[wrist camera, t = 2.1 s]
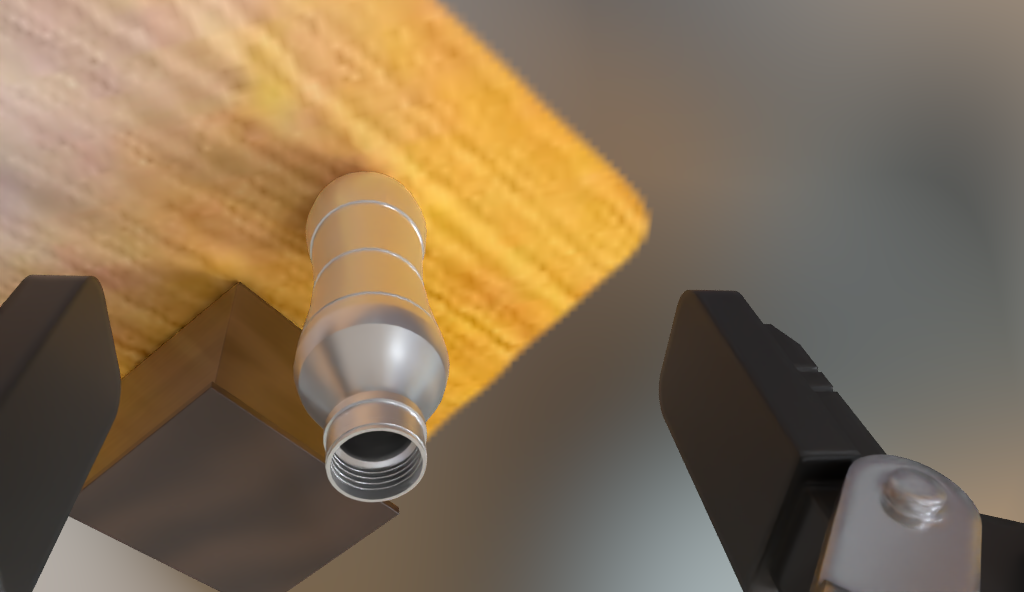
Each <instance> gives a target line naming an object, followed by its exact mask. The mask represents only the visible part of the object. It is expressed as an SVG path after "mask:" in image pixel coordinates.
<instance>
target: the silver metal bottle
mask: <svg viewBox="0 0 1024 592" xmlns="http://www.w3.org/2000/svg"><path fill="white" fill-rule="evenodd" d="M426 232H427V230H426V224H425V219H424V216H423V214H422V211H421V209H420V207H419V206H418V204H417V202H416V201H415V199H414V198H413V196H412V194H411V193H410V192H409V191H408V190H407V189H406V188H405V187H404V185H402V184H401V183H399V182H398V181H397V180H395V179H394V178H391V177H389V176H387V175H385V174H381V173H376V172H368V171H360V172H353V173H349V174H346V175H343V176H340V177H339V178H337V179H335V180H333V181H332V182H330V183H329V184H328V185H327V186H326V187H325V188H324V189H323V190H322V191H321V193H320V194H319V195H318V197H317V198H316V200H315V202H314V204H313V206H312V208H311V210H310V213H309V215H308V218H307V223H306V241H307V247H308V252H309V256H310V260H311V263H312V265H313V277H314V287H313V294H312V299H311V305H310V310H309V313H308V315H307V318H306V321H305V324H304V327H303V330H302V333H301V336H300V339H299V341H298V346H297V350H296V355H295V360H294V365H293V374H294V382H295V385H296V388H297V391H298V394H299V397H300V399H301V402H302V404H303V406H304V408H305V409H306V411H307V413H308V414H309V415H310V416H311V418H312V419H313V420H314V421H315V422H316V423H317V424H318V425H319V426H320V427H321V428H322V429H323V430H324V433H323V443H324V448H325V451H326V457H325V468H326V472H327V476H328V479H329V481H330V482H331V484H332V486H333V487H334V488H335V489H336V490H337V491H339V492H340V493H342V494H343V495H345V496H347V497H349V498H351V499H354V500H358V501H363V502H382V501H387V500H391V499H394V498H397V497H400V496H401V495H404V494H405V493H407V492H409V491H410V490H411V489H413V488H414V487H415V486H416V485H417V483H419V482H420V480H421V478H422V477H423V475H424V472H425V469H426V464H427V452H426V440H427V430H426V423H425V422H426V421H427V420H428V419H429V418H430V416H431V415H432V414H433V413H434V412H435V410H436V409H437V407H438V405H439V404H440V402H441V400H442V397H443V394H444V391H445V387H446V384H447V380H448V375H449V358H448V352H447V349H446V346H445V342H444V339H443V337H442V334H441V332H440V329H439V327H438V325H437V323H436V320H435V318H434V316H433V313H432V311H431V309H430V306H429V303H428V299H427V295H426V291H425V288H424V283H423V258H424V254H425V246H426Z"/></svg>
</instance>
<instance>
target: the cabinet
mask: <svg viewBox="0 0 1024 592" xmlns="http://www.w3.org/2000/svg"><path fill="white" fill-rule="evenodd" d="M301 333H302V330H301V329H300V328H298V327H297V326H296V325H294V324H293V323H292V322H291V321H289V320H288V319H287V318H286V317H284V316H283V315H282V314H280V313H279V312H278V311H277V310H275V309H274V308H273V307H271V306H270V305H269V304H268V303H266V302H265V301H264V300H263V299H261V298H260V297H259V296H257V295H256V294H255V293H254V292H252V291H251V290H250V289H248V288H247V287H246V286H245V285H243V284H242V283H241V282H240V283H237V284H236V285H234V286H233V287H232V288H231V289H230V290H228V291H227V292H226V293H225V294H224V295H222V296H221V297H220V298H219V299H218V300H216V301H215V302H214V303H213V304H212V305H210V306H209V307H208V308H207V309H206V310H204V311H203V312H202V313H201V314H200V315H198V316H197V317H196V318H195V319H194V320H192V321H191V322H190V323H189V324H188V325H186V326H185V327H184V328H183V329H182V330H180V331H179V332H178V333H177V334H176V335H174V336H173V337H172V338H171V339H170V340H168V341H167V342H166V343H165V344H164V345H162V346H161V347H160V348H159V349H158V350H156V351H155V352H154V353H153V354H151V355H150V356H149V357H148V358H147V359H145V360H144V361H143V362H142V363H141V364H139V365H138V366H137V367H136V368H135V369H133V370H132V371H131V372H130V373H129V374H127V375H126V376H125V377H124V378H123V379H121V394H120V402H119V407H118V412H117V415H116V418H115V420H114V422H113V424H112V427H111V429H110V431H109V433H108V435H107V437H106V439H105V441H104V443H103V445H102V447H101V449H100V451H99V454H98V456H97V458H96V460H95V462H94V464H93V466H92V468H91V470H90V472H89V474H88V476H87V479H86V481H85V483H84V485H83V487H82V489H81V491H80V493H79V495H78V497H77V499H76V501H75V504H74V506H73V508H72V510H71V512H70V514H69V516H70V517H72V518H74V519H76V520H78V521H80V522H82V523H84V524H86V525H88V526H90V527H92V528H94V529H96V530H98V531H100V532H102V533H104V534H106V535H108V536H110V537H112V538H114V539H116V540H118V541H120V542H122V543H124V544H126V545H128V546H130V547H132V548H134V549H136V550H138V551H140V552H142V553H144V554H146V555H148V556H150V557H152V558H154V559H156V560H158V561H160V562H162V563H164V564H166V565H168V566H170V567H172V568H174V569H176V570H178V571H180V572H182V573H184V574H186V575H188V576H190V577H192V578H194V579H196V580H198V581H200V582H202V583H204V584H206V585H208V586H210V587H212V588H214V589H216V590H218V591H220V592H287V591H288V590H290V589H291V588H293V587H294V586H296V585H297V584H299V583H300V582H301V581H303V580H304V579H306V578H307V577H309V576H310V575H312V574H313V573H315V572H316V571H317V570H319V569H320V568H322V567H323V566H324V565H326V564H327V563H329V562H330V561H332V560H333V559H335V558H336V557H337V556H339V555H340V554H342V553H343V552H345V551H346V550H348V549H349V548H351V547H352V546H353V545H355V544H356V543H358V542H359V541H360V540H362V539H363V538H365V537H366V536H368V535H369V534H371V533H372V532H374V531H375V530H376V529H378V528H379V527H381V526H382V525H384V524H385V523H386V522H388V521H390V520H391V519H392V518H394V517H395V516H397V515H398V514H399V508H398V507H397V506H396V505H394V504H393V503H391V502H390V501H389V500H387V501H382V502H363V501H358V500H354V499H351V498H349V497H347V496H345V495H343V494H342V493H340V492H339V491H337V490H336V489H335V488H334V487H333V486H332V484H331V482H330V481H329V479H328V476H327V472H326V468H325V457H326V451H325V448H324V443H323V433H324V430H323V429H322V428H321V427H320V426H319V425H318V424H317V423H316V422H315V421H314V420H313V419H312V418H311V416H310V415H309V414H308V413H307V411H306V409H305V408H304V406H303V404H302V402H301V399H300V397H299V394H298V391H297V388H296V385H295V382H294V374H293V365H294V360H295V355H296V350H297V346H298V341H299V339H300V336H301Z"/></svg>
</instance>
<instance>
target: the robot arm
mask: <svg viewBox="0 0 1024 592" xmlns="http://www.w3.org/2000/svg"><path fill="white" fill-rule="evenodd" d="M120 394H121V379H120V371H119V365H118V361H117V356H116V351H115V346H114V341H113V336H112V331H111V326H110V321H109V316H108V311H107V306H106V301H105V296H104V292H103V289H102V286H101V284H100V282H99V281H98V279H97V278H95V277H93V276H59V275H29V276H27V277H26V278H25V279H24V280H23V281H22V282H21V283H20V284H19V286H18V287H17V288H16V289H15V290H14V292H13V293H12V294H11V295H10V296H9V297H8V299H7V300H6V301H5V302H4V303H3V305H2V306H1V307H0V592H32V591H33V589H34V587H35V585H36V583H37V581H38V578H39V576H40V574H41V572H42V570H43V568H44V566H45V564H46V562H47V560H48V558H49V555H50V553H51V551H52V549H53V547H54V545H55V543H56V541H57V539H58V537H59V535H60V533H61V530H62V528H63V526H64V524H65V522H66V520H67V518H68V516H69V514H70V512H71V510H72V508H73V506H74V504H75V501H76V499H77V497H78V495H79V493H80V491H81V489H82V487H83V485H84V483H85V481H86V479H87V476H88V474H89V472H90V470H91V468H92V466H93V464H94V462H95V460H96V458H97V456H98V454H99V451H100V449H101V447H102V445H103V443H104V441H105V439H106V437H107V435H108V433H109V431H110V429H111V427H112V424H113V422H114V420H115V418H116V415H117V412H118V407H119V402H120ZM659 400H660V406H661V411H662V414H663V417H664V419H665V422H666V424H667V426H668V428H669V430H670V433H671V435H672V437H673V439H674V441H675V443H676V446H677V448H678V450H679V452H680V454H681V457H682V459H683V461H684V463H685V465H686V467H687V470H688V472H689V474H690V476H691V478H692V480H693V483H694V485H695V487H696V489H697V491H698V494H699V496H700V498H701V500H702V502H703V504H704V507H705V509H706V511H707V513H708V515H709V518H710V520H711V522H712V524H713V526H714V528H715V531H716V533H717V535H718V537H719V539H720V541H721V544H722V546H723V548H724V550H725V553H726V555H727V557H728V559H729V561H730V563H731V566H732V568H733V570H734V572H735V574H736V577H737V578H738V581H739V583H740V585H741V587H742V590H743V592H1024V523H1020V522H1016V521H1011V520H1007V519H1002V518H998V517H993V516H988V515H983V514H980V513H979V512H978V510H977V508H976V506H975V505H974V503H973V501H972V500H971V499H970V498H969V497H968V495H967V494H966V493H965V492H964V491H963V490H961V488H960V487H958V486H957V485H956V484H955V483H954V482H952V481H951V480H950V479H948V478H947V477H945V476H944V475H942V474H941V473H939V472H937V471H935V470H933V469H932V468H930V467H928V466H925V465H923V464H921V463H919V462H916V461H913V460H910V459H907V458H902V457H898V456H893V455H887V454H886V453H885V452H884V451H883V449H882V448H881V447H880V446H879V444H878V443H877V442H876V441H875V439H874V438H873V437H872V435H871V434H870V433H869V431H868V430H867V429H866V428H865V426H864V425H863V424H862V423H861V421H860V420H859V419H858V418H857V416H856V415H855V414H854V413H853V411H852V410H851V409H850V407H849V406H848V405H847V404H846V402H845V401H844V400H843V399H842V397H841V396H840V395H839V394H838V392H833V386H832V385H831V383H830V382H829V381H828V380H827V378H826V377H825V376H824V375H823V373H822V372H818V367H817V366H816V364H815V363H814V362H813V361H812V360H811V358H810V357H809V356H808V354H807V353H806V352H805V351H804V349H803V348H802V347H801V345H800V344H798V343H797V342H795V341H794V340H793V339H791V338H790V337H788V336H787V335H785V334H784V333H783V332H781V331H780V330H778V329H777V328H775V327H774V326H773V325H771V324H763V323H762V322H761V320H760V319H759V318H758V316H757V315H756V314H755V312H754V311H753V310H752V308H751V307H750V306H749V304H748V303H747V302H746V300H745V299H744V298H743V296H742V295H741V294H740V293H739V292H737V291H714V290H687V291H685V292H684V293H683V294H682V296H681V297H680V300H679V302H678V305H677V309H676V313H675V317H674V321H673V325H672V329H671V334H670V337H669V342H668V346H667V350H666V354H665V358H664V362H663V366H662V370H661V374H660V381H659Z"/></svg>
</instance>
